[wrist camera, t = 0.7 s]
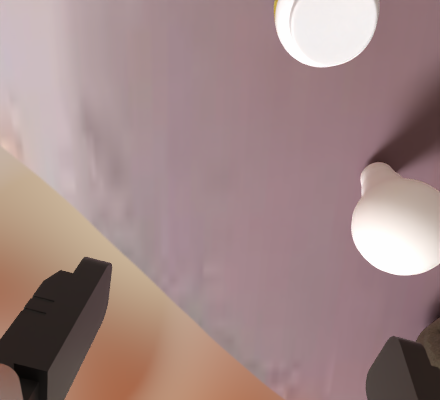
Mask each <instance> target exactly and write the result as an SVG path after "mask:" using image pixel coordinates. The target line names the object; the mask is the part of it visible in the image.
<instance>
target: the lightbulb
mask: <svg viewBox="0 0 440 400" xmlns="http://www.w3.org/2000/svg"><path fill="white" fill-rule="evenodd" d="M360 179H361V185H362V189H361V194H362V197H361V199H360V200H359V202H358V204H357V205H356V207H355V209H354V212H353V215H352V224H351V230H352V236H353V240H354V242H355V245H356V247H357V249H358V250H359V251H360V253H361V254H362V256H363V257H364V258H365V259H366V260H367V261H368V262H370V263H371V264H372V265H373V266H375V267H376V268H378V269H380V270H382V271H385V272H388V273H391V274H396V275H415V274H420V273H423V272H426V271H428V270H431V269H432V268H434V267H435V266H437V265H438V264H440V191H438V190H437V189H435V188H433V187H432V186H430V185H428V184H427V183H424V182H421V181H419V180H413V179H405V178H403V177H402V176H401V175H400V174H398V173H396V172H395V171H394V170H393V169H392V168H391V167H390V166H389V165H388V164H386V163H382V162H376V163H372V164H370V165H368V166H367V167H366V168H365V169H364V170H363V171H362V173H361V177H360Z"/></svg>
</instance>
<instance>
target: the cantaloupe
mask: <svg viewBox="0 0 440 400" xmlns="http://www.w3.org/2000/svg"><path fill="white" fill-rule="evenodd" d="M416 342H419V343H421V344H422V345H423V346H424V348H425V350H426V353H427V356H428V358H429V361H430V363H431V366H435V367H438V368H439V370H440V317H439V318H438V319H437V320H435V321H434V322H433V323H432V324H430V325H429V326H428V327H426V328H425V329H424V330H423V331H422V332H421V333H420V335H419V336H418V338H417V340H416Z"/></svg>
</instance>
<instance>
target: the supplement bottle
mask: <svg viewBox="0 0 440 400" xmlns="http://www.w3.org/2000/svg"><path fill="white" fill-rule="evenodd" d="M379 8H380V3H379V0H274V16H275V25H276V30H277V34H278V37H279V39H280V41H281V43H282V45H283V46H284V48H285V49H286V51H287V52H288V53H289V54H290V55H291V56H292V57H293V58H295V59H296V60H298V61H299V62H301V63H303V64H306V65H309V66H314V67H331V66H335V65H340V64H343V63H346V62H348V61H350V60H352V59H353V58H355V57H356V56H358V55H359V54H360V53H361V52H362V51H363V50H364V49H365V48H366V46H367V45H368V44H369V42H370V40H371V39H372V37H373V34H374V32H375V29H376V25H377V21H378V17H379Z"/></svg>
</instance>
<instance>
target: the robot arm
mask: <svg viewBox="0 0 440 400" xmlns="http://www.w3.org/2000/svg"><path fill="white" fill-rule="evenodd" d="M111 272H112V264H111V263H108V262H104V261H100V260H96V259H93V258H88V257H84V258H83V259H82V261H81V262H80V264H79V265H78V267H77V268H76V270H75V271H74V273H70V272H66V271H62V270H60V271H58V272H57V273H55V274H54V275H52V276H51V277H49V278H48V279H46V280H44V281H43V283H42V284H41V285H40V287H39V288H38V289H37V291H36V292H35V293H34V295H33V298H32V299H30V300H29V301H28V303H27V304H26V305H25V307H24V310H23V311H21V312H20V314H19V315H18V316H17V318H16V319H15V320H14V322H13V323H12V324H11V326H10V327H9V329H8V330H7V331H6V333H5V334H4V335H3V337H2V338H1V339H0V400H64V399H65V397H66V395H67V393H68V391H69V389H70V387H71V385H72V383H73V380H74V379H75V377H76V375H77V372H78V371H79V368H80V366H81V364H82V362H83V360H84V358H85V356H86V354H87V352H88V350H89V348H90V346H91V344H92V342H93V340H94V338H95V336H96V334H97V332H98V329H99V328H100V326H101V324H102V321H103V319H104V316H105V313H106V309H107V305H108V299H109V289H110V281H111ZM366 394H367V399H368V400H440V370H439V368H438V367H435V366H431V363H430V361H429V358H428V356H427V353H426V350H425V348H424V346H423V345H422V344H421V343H419V342H415V341H411V340H407V339H403V338H399V337H395V336H392V337H390V338H389V339H388V341H387V342H386V344H385V345H384V347H383V349H382V350H381V352H380V353H379V355H378V357H377V358H376V360H375V361H374V363H373V364H372V366H371V368H370V369H369V372H368V374H367V379H366Z"/></svg>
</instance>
